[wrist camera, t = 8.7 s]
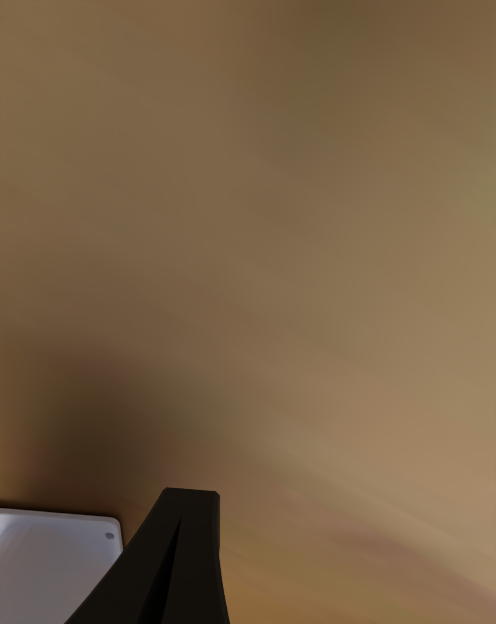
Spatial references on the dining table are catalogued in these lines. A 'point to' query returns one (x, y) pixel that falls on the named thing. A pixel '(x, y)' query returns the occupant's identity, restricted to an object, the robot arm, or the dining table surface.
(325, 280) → the dining table surface
